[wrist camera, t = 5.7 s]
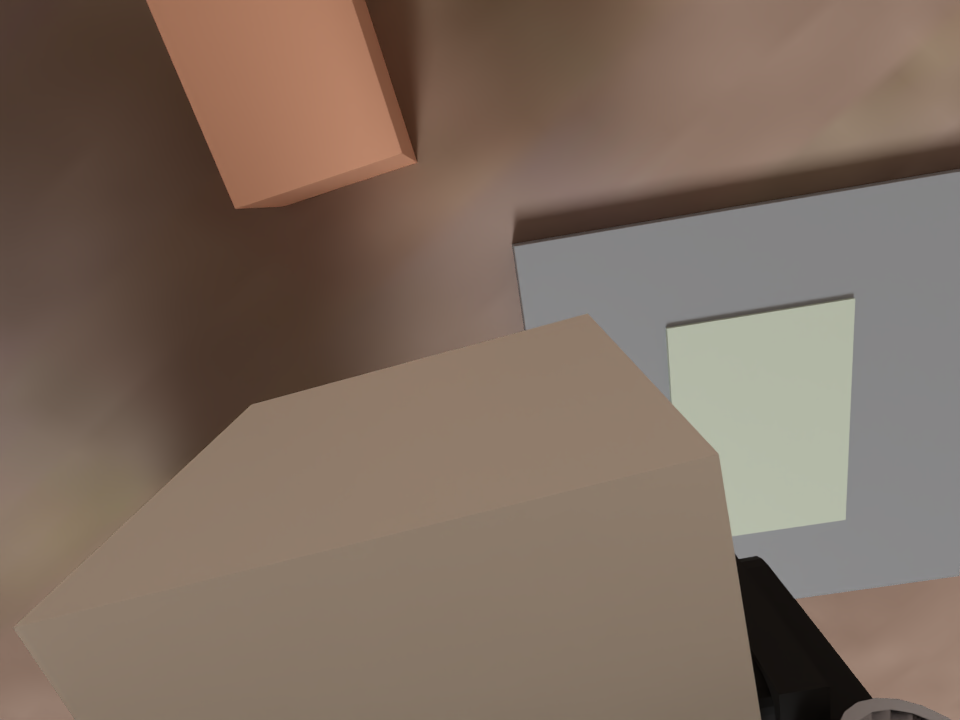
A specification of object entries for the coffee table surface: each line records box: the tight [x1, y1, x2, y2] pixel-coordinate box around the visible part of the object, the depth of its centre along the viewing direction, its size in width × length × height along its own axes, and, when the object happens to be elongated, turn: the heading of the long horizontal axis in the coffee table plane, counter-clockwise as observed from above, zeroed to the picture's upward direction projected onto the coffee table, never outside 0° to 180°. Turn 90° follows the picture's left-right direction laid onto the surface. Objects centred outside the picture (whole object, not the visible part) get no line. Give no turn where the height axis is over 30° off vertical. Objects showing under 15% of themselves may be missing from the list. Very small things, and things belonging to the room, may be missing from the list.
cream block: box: [13, 314, 761, 720], centre depth 8 cm, size 9×6×5 cm, turn 16°
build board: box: [512, 169, 960, 599], centre depth 25 cm, size 20×20×1 cm
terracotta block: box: [146, 0, 417, 209], centre depth 19 cm, size 9×6×5 cm, turn 17°
